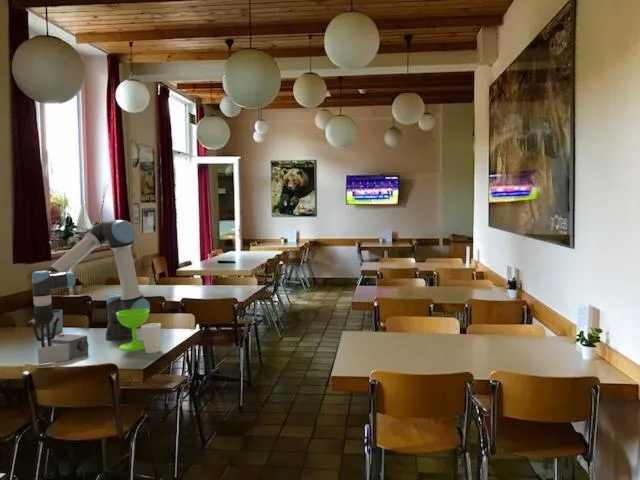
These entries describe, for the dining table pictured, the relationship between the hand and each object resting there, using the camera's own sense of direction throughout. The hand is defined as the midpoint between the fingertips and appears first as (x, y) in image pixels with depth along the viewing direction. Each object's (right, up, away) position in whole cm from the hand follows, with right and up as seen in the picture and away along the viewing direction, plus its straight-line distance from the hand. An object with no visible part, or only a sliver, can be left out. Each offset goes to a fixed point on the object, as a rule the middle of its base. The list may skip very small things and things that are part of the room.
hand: (46, 354), depth 271 cm
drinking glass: (-28, -1, +70) cm, 75 cm away
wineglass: (+33, -1, +24) cm, 41 cm away
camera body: (+5, -3, +12) cm, 13 cm away
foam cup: (+45, -1, +13) cm, 47 cm away
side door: (+4, -3, 0) cm, 5 cm away
